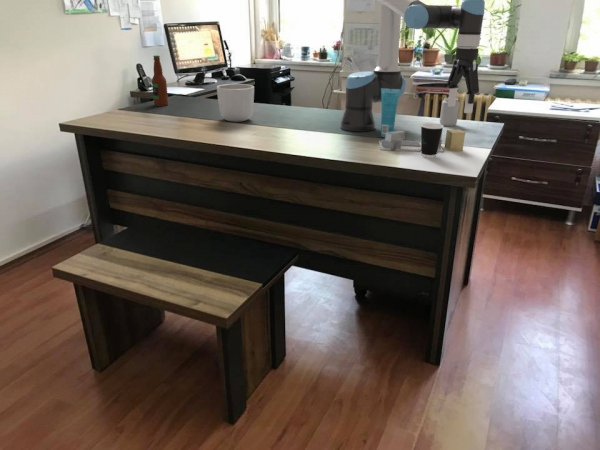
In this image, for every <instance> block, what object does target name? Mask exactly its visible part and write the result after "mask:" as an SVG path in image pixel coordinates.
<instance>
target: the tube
mask: <svg viewBox="0 0 600 450" xmlns="http://www.w3.org/2000/svg"><path fill="white" fill-rule="evenodd" d="M399 93H400V89H385V88H381V102H380V103H381V109H380V110H381V111H380V113H381V118H380V119H381V121H380V123H381V124H380V137H383V138H385V136H386V132H392V131H395V130H394V129H395V122H396V114H397V110H398V109H397V108H398V101H399V99H398V97H399Z"/></svg>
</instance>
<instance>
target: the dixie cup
mask: <svg viewBox="0 0 600 450" xmlns="http://www.w3.org/2000/svg"><path fill="white" fill-rule="evenodd" d="M444 127H445V126H443V125H441V124H440V123H432V122H425V123H421V124H420V132H421V137H420V139H421V140H420V142H421V151H420V152H421V156H422V157H423V158H429V159H433V158H436V156H437V154H438V152H437V150H438V146H439V142H440V138H441V139H442V137H441V134H442V135H443V129H444Z"/></svg>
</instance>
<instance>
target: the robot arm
mask: <svg viewBox="0 0 600 450" xmlns="http://www.w3.org/2000/svg"><path fill="white" fill-rule="evenodd" d="M376 1H377V3H378V4H379V5H380V12H379V13H380V15H379V31H378V32H379V33H378V34H379V35H378V52H377V66H376V67H375V68H374V69H373V71H368V70H367V71H357V72H353V73H350V74H348V76H347V77H346V84H345V105H344V107H345V108H344V112H343V115H342V117H341V121H340V125H339V126H340V129H341V130H344V131H350V132H370V131H373V130H375V128H376V121H375V117H374V113H373V104H374V103H381V88H385V89H400V93H399V97H398V100H400V99H401V97H403V94H404V93H405V90H406V87H407V85H406V84H407V83H406V79H405V76H404V75H403V74H402V72H401V71H402V70H401V68H400V67H399V52H400V35H401V22H402V18H403V19H404V23H405V26H406V27H407V28H409V29H414V30H423V29H428V30H430V29H437V30H438V29H446V30H449V29H451V30H452V29H456V30H457V29H458V32H457V39H456V49H455V55H454V58H455V60H453V64H452V68H451V71H450V75H449V77H448V79H447V83H446V85H447V87H448V88H449V92H448V97H447V98H448V106H455V104H456V98H457V95H458V85H459V83H460V81H461V79H463V78H464V81H465V86H466V91H467V92H466V93H465V94H466V95H465V101H464V103H465V104H464V109H463V113H464V114H472V113H473V107H474V101H475V95H476V94H479V93H480V84H479V72H478V69H479V64H478V63H474V61H476V60H478V57H479V50H480V49H479V47H480V42H481V39H482V38H481V35H482V27H483V21H484V16H485V6H486V3H485V0H462V1H461V5H450V4H449V5H447V4H446V5H438V4H437V5H435V4H434V5H433V4H432V5H431V4H426V3H424V2H423V1H421V0H376Z"/></svg>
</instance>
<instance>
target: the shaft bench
mask: <svg viewBox="0 0 600 450" xmlns="http://www.w3.org/2000/svg"><path fill="white" fill-rule="evenodd" d="M405 136H406V131H403V130H399V129H398V130H394V131H392V132H386V136H385V137H384V139H382V140H379V141H378V144H379V150H380V151H403V152H421V141H419V140H405V139H406V137H405ZM442 136H443V133H442V134H441V138H440V142H439V146H438V150H437V153H444V150H443V148H442V142H443V140H442Z"/></svg>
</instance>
